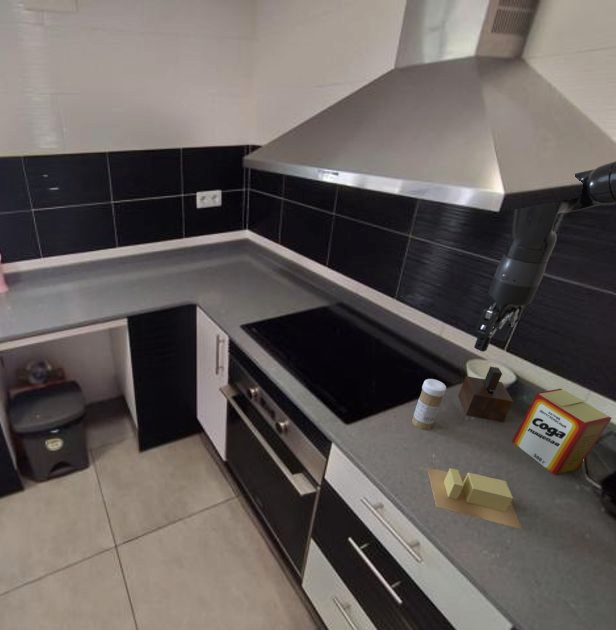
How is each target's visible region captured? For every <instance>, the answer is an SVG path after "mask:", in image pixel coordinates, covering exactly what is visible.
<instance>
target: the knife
mask: <svg viewBox="0 0 616 630" xmlns="http://www.w3.org/2000/svg"><path fill="white" fill-rule="evenodd" d="M502 376H503V372H502V370H501V369H500V368H499V367H496V366H489V369H488V371H487V373H486V376H485V378H484V379H485V380H484V385H485V388H486V390H487V392H488V393H490V394H491V393H492V390H495V389H496V387H497V384H498V382H500V380H501V378H502Z"/></svg>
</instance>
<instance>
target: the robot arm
mask: <svg viewBox="0 0 616 630" xmlns="http://www.w3.org/2000/svg"><path fill="white" fill-rule="evenodd" d="M574 174H575V177H576V178H577V179H578V180H579V181H581V182H582V183H583V189H582V194H580V196H579V197H578V198H575V199H571V200H563V201H557V202H552V203H545V204H540V205H535V206H531V207H526V208H521V209H515V208H514V211H513V217H512V218H513V219H512V227H511V228H512V230H511V235H510V238H509V240H508V243H507V245H506V248H505V250H504V254H503V255H502V257H501V259H500V261H499V263H498V264H497V268H496V270H495V273H494V276H493V278H492V281H491V283H490V286H489V289H488V292H487V295H488V297H490V298H491V299H492V300H493V301H494V302H493V304H491V305H490V307H489V308H488V307H485V308H483V310H482V312H481V315H480V317H479V320H478V322H477V325H476V327H475V329H474V334H477V335H478V336H477V338H476V341H475V343H474V349H475V350H478V351H480V352H481V353H485V352H487V350H488V348H489V345H490V343H491V341H492V337H493V339H494V340H497V341H499V342H505V341H506V340H507V338H508V336H509V334H510V331H511V329H512V328H513V327H514V326H515V324H518V322H520V319H521V317H522V314H523V312H524V309H525V307H526V306H527V305H530V304H531V303H532V302H533V299H534V297H535V295H536V292H537V291H538V288H539V286H540V283H541V281H542V279H543V277H544V275H545V272H546V268H547V264H548V262H549V259H550V258H551V254H552V252H553V250H554V248H555V245H556V243H557V239H558V238H557V237H558V235H557V233H556V232H555V231H553V230H554V225H555V222H556V219H557V216H559V215H564V214H568V213H572V212H577V211H581V210H587V209H592V208H595V207H599V206H612V205H613V206H614V205H616V161H615V160H614V161H611V162H608V163H605V164H603V165H600V166H597V167H596V168H594V169H593V168H592V169H589V170H584V171H580V172H576V173H574Z"/></svg>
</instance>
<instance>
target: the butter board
mask: <svg viewBox="0 0 616 630" xmlns="http://www.w3.org/2000/svg"><path fill="white" fill-rule="evenodd" d="M426 469H427V473H428V477H429V482H430V486H431V491H432V494H433V499H434V503H435V507H436V508H439V509H443V510H447V511H451V512H455V513H458V514H462V515H466V516H469V517H473V518H477V519H481V520H484V521H485V520H486V521H489V522H492V523H496V524H499V525H504V526H507V527H511V528H515V529H518V530H523V527H522V524H521V522H520V520H519V517H518V515H517V513H516V511H515V507H514V505H513V503H512V502H511V503H510V505H509V506H508V508H507V510H506V512H503V511H499V510H495V509H492V508H488V507H484V506H480V505H476V504H472V503H468V502H467V501H466V498H465V495H464V491H463V488H462V491H461V493H460V495H459V497H458V499H457V500H456V499H452V498H448V495H447V491H446V487H445V484H444V480H445V478H446V475H447V473H448V471H444V470H440V469H438V468H437V469H436V468H432V467H429V466H427V467H426ZM460 476H461V479H462V483H463V482H464V480H465V478H466V476H467V475H462V474H460Z"/></svg>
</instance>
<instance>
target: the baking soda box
mask: <svg viewBox="0 0 616 630" xmlns="http://www.w3.org/2000/svg"><path fill="white" fill-rule="evenodd" d="M611 421H612V417H611V416H609V415H608V414H606V413H604V412H602V411H601V410H598V409H597V408H595V407H593V406H591V404H588V403H587V402H585V401H584V400H583V399H581V398H579V397H578V396H576V395H574V394H572V393H570V392H568V391H566V390H564V389H563V388H557V389H556V388H555V389H551V390H544V391H540V392H536V394H535V395H534V398H533V399H532V401H531V403H530V405H529V407H528V409H527V411H526V413H525V414H524V417H523V419H522V420H521V422H520V424H519V427H518V429H517V430H516V433H515V434H514V437H513V439H512V440H511V442H512V443H513V444H514V445H516V446H517V447H518V448H519V449H520V450H522V451H523V452H525V453H526V454H528V455H529V456H530V457H531V458H532V459H534V460H535V461H536V462H538V463H539V464H540V465H541V466H542V467H544V468H545V469H546V470H548V471H549V472H550V473H552V474H553V475H555V476H556V475H559V474H564V473H569V472H572V471H577V470H579V469H580V468H581V467H582V465H583V463H584V462H583V459H585V460H586V459H587V457H588V456H589V454H590V452H591V451H592V449H593V448H594V447H595V445H596V443H597V442H598V440H600V437H601V436H602V434H603V433H604V431H605V430H606V428H607V427H608V425H609V423H610V422H611Z"/></svg>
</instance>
